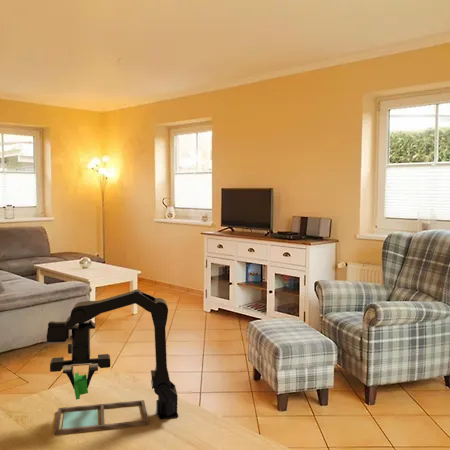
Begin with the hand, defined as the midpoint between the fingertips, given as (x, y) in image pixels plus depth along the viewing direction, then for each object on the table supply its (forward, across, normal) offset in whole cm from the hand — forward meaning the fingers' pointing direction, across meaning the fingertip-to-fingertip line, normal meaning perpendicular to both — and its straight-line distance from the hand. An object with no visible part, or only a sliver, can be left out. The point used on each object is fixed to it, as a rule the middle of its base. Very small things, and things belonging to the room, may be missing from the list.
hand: (80, 388), depth 158 cm
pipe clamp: (+2, 0, -1) cm, 2 cm away
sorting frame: (+11, -7, 0) cm, 13 cm away
